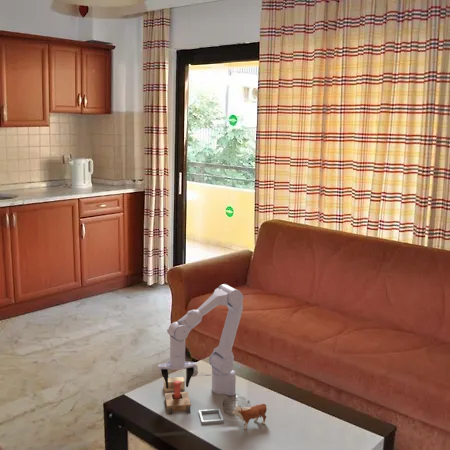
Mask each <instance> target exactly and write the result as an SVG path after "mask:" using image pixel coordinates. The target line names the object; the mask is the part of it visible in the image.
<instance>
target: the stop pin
mask: <svg viewBox="0 0 450 450" xmlns="http://www.w3.org/2000/svg"><path fill="white" fill-rule="evenodd" d="M173 385H174V391H173V393H174V399H180V392H181V391H180V385H181V381H174V382H173Z"/></svg>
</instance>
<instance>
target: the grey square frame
mask: <svg viewBox="0 0 450 450" xmlns="http://www.w3.org/2000/svg"><path fill="white" fill-rule="evenodd" d="M212 413H214V414H215V413H217V414H218V416H219V419H208V420H204V418H203V417H204V416H203V414H212ZM222 414H223V413H222V411H221V408H212V409H201V410H200V409H199V410H198V415H199V419H200V422H201V425H210V424H212V425H213V424H224V421H225V420H224V417H223V415H222Z"/></svg>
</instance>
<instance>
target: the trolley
mask: <svg viewBox="0 0 450 450" xmlns="http://www.w3.org/2000/svg"><path fill="white" fill-rule="evenodd" d="M164 398H165V403H166V404H165V405H166V408H167V413H168V415H173V412H183V411H186V413H187V414H189V413H191V407H192V403H191V400H190V396H189V392H188V391H180V399H174V392H165V393H164Z"/></svg>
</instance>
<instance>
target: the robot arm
mask: <svg viewBox="0 0 450 450" xmlns="http://www.w3.org/2000/svg"><path fill="white" fill-rule="evenodd" d="M243 301H244V295H243V293H242V292H241V290H239V289H236V288H234V287H232V286H230V285H229V284H227V283H223V284H220V285H219V286H218V287H217V288H215V289H214V291H213V293H212V295H211V296H209V297H208V298H207V300H205V301H204V302H203V303H202V304H201V305H200V306H199V307H197V309H191V310H188V311H187V312H186V314H185V315H183V316H182V317H181V318H180V319H178V320H177V321H174V322H172V323H171V324H170V325H168V328H167V334H168V335H169V340H170V341H169V342H170V343H169V354H170V355H169V362H165V363H158V364H157V365H158V366H157V370H158V372H160V373H161V376H162V377H163V381H164V380H165V383H166V388H168V378H169V370H170V371H171V370H173V371H174V370H176V371H179V370H185V374H186V375H185V386H186V388H189V385H190V381H191V379H192V375H193V373H194V369H197V368H198V365H197V362H196V361H195V362H194V361H186V339H187V338H188V336H189V333H191V331H192V330H193V329H194V328H195V327H197V326H198V325H199V324H200V323H201V322H202V320H203V316H205V315H207V314H208V313H210V311H212V310H213V309H215V308H216V307H218V306H226V307H227V309H228V310H227V315H226V318H225V321H224V325H223V328H222V332H221V335H220V338H219V339H220V340H219V343H218V345H217V346H216V347H215V348H213V351H212V353H211V355H210V356H209V359H208V362H209V365H210V366H211V374H212V375H211V391H212V393H215V394H218V395H224V394H225V395H226V397H227V396H236V383H237V382H236V377H237V376H236V371H235V369H234V366H235V365H234V360H235V356H234V353H233V350H232V349H233V346H234V343H235V339H236V335H237V331H238V328H239V325H240V321H241V319H242V318H241V317H242V314H243V312H244V311H243V310H244V302H243Z"/></svg>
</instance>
